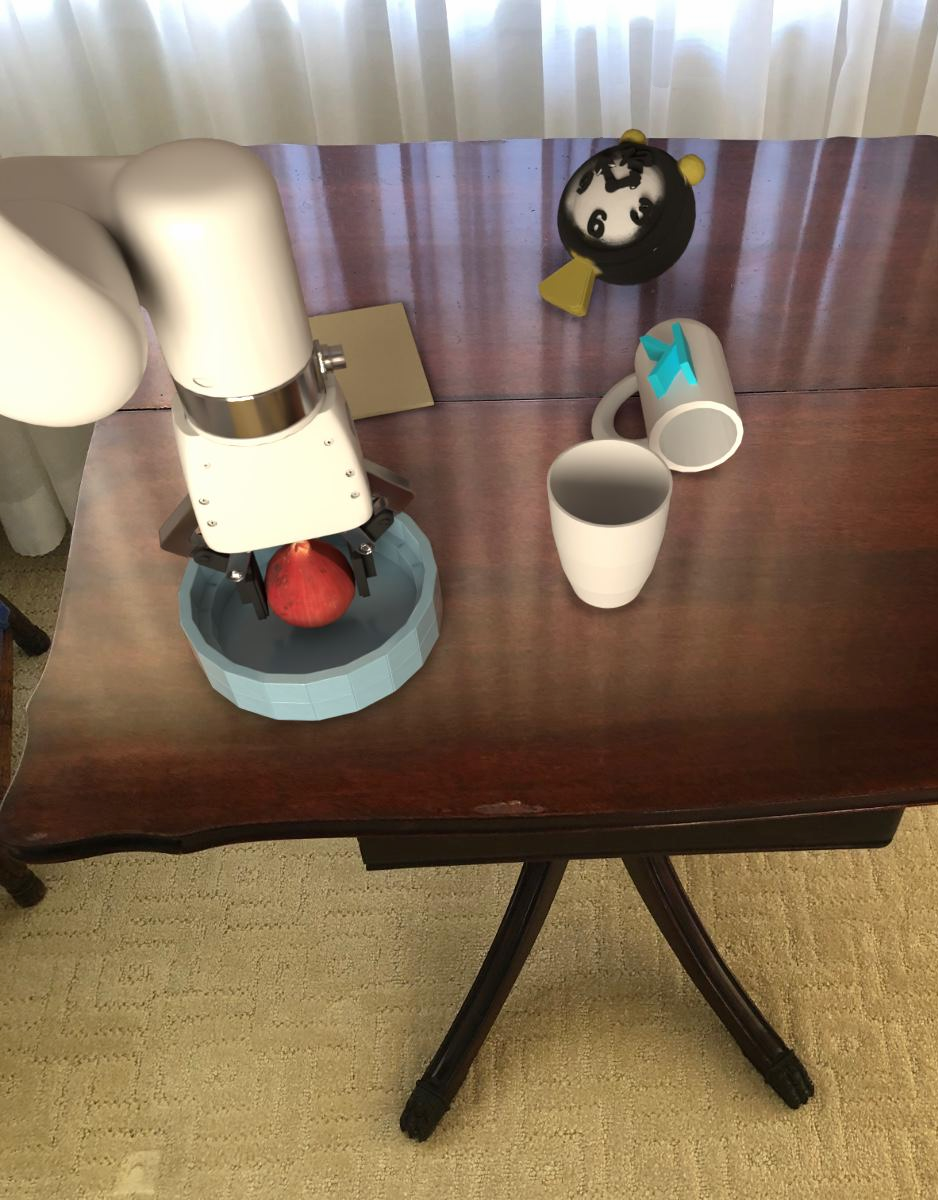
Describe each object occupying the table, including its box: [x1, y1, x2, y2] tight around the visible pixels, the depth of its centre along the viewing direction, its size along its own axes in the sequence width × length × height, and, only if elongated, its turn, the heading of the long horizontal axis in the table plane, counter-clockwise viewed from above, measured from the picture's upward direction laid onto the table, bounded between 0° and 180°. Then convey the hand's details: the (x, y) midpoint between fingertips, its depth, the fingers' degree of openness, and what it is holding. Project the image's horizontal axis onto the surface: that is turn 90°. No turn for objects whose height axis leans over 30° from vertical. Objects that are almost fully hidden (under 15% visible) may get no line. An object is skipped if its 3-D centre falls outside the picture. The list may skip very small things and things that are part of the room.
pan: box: [177, 496, 444, 722], centre depth 74 cm, size 17×17×4 cm
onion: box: [263, 538, 356, 628], centre depth 72 cm, size 6×6×8 cm
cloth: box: [308, 301, 435, 421], centre depth 93 cm, size 12×14×1 cm
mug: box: [591, 317, 744, 473], centre depth 86 cm, size 12×9×12 cm
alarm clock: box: [537, 128, 707, 317], centre depth 98 cm, size 12×15×15 cm
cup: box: [546, 438, 674, 609], centre depth 75 cm, size 8×8×10 cm
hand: (311, 590), depth 73 cm, fingers closed on onion, 6 cm apart
